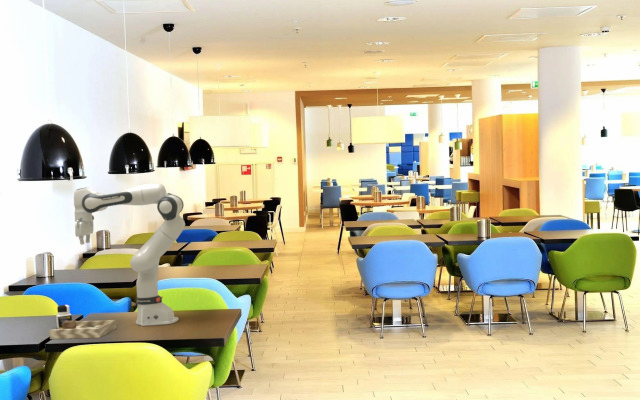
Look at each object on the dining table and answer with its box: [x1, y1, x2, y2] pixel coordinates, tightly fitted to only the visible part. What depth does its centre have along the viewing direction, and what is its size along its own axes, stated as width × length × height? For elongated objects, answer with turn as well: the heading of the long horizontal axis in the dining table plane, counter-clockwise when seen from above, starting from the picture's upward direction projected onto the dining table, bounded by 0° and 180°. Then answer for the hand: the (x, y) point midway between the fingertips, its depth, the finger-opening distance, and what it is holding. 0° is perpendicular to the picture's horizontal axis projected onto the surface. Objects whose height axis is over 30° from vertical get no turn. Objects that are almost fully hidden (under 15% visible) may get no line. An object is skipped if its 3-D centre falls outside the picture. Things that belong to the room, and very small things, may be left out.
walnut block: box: [62, 319, 77, 329], centre depth 371 cm, size 5×5×4 cm
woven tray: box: [48, 319, 117, 340], centre depth 371 cm, size 26×20×4 cm
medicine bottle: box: [55, 304, 73, 329], centre depth 390 cm, size 7×7×12 cm
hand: (85, 243), depth 391 cm, fingers open, 8 cm apart
